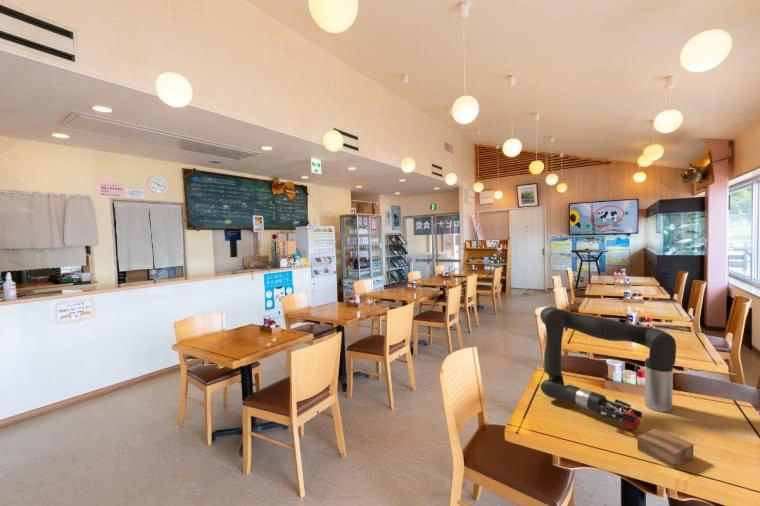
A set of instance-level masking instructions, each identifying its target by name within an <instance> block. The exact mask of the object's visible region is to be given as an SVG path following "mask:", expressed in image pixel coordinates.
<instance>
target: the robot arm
mask: <svg viewBox="0 0 760 506" xmlns="http://www.w3.org/2000/svg"><path fill="white" fill-rule="evenodd" d="M539 316H540V320H541V322H542V323H543V324H544V326H545V331H546V341H545V343H546V344H545V349H544V354H543V369H544V372H545V373H546V374H547V375H548V378H547V379H545V380H544V381H542V382H541V384H540V390H541V392H542V393H543V394H544V395H545V396H546V397H549V398H552V399H554V400H555V399H556V400H560V401H567V402H569V403H572V404H573V405H576V406H579V407H581V408H583V409H586V410H589V411H591V412H593V413H595V414H596V413H597V414H600V416H601V417H604V418H608V419H611V420H615V421H619V420H620V421H621V420H623V419H624V420H627V421H630V422H632V423H635V417H634V416H631V415H628V414H626V413H625V412H627V411H630V410H632V412H633V413H634V414H636V415H637V417H638V418H639V419H640V418H642V417H643V413H642V411H641V410H637V409H634V408H632V405H631V404H629V403H627V402H624V401H622V400H621V399H616V398H615V399H614V401H612V400H608V399H607V397H606V395H603V394H601V393H598V392H595V391H593V390H592V391H591V390H589V389H585V388H582V387H578V386H575V385H572V384H567V385H565V383H564V378H563V373H562V347H563V346H562V344H563V335H564V330H565V329H570V330H573V331H577V332H579V333H581V334H584V335H587V336H589V337H592V338H596V339H600V340H603V341H604V340H605V341H609V342H610V341H611V342H630V343H635V344H638V345H641V346H644V347H647V348H648V349H649V354H648V355H649V356H648V357H647V358H645V361H644V365H645V366H644V405H645V406H646V408H649V409H651V410H653V411H656V412H659V413H660V412H661V413H669V412H672V411H673V393H674V392H673V391H674V389H673V388H674V387H673V380H674V377H673V375H674V373H673V369H674V365H675V364H676V355H677V342H676V340H675V338H674V337H673V336H672V335H671V334H669V333H667V332H666V331H663V330H662V329H661V328H653V327H647V326H638V325H632V324H628V323H625V322H621V321H618V320H614V319H610V318H605V317H601V316H593V315H588V314H582V313H581V314H579V313H574V312H570V311H566V310H563V309H560V308H558V307H556V306H555V307H554V306H548V307H545V308H543V309H542V310H541V311H540V315H539Z"/></svg>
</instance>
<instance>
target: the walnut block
mask: <svg viewBox="0 0 760 506" xmlns="http://www.w3.org/2000/svg"><path fill="white" fill-rule="evenodd" d="M694 446H695V445H694V443H692V442H689V441H687V440H685V439H682V438H680V437H678V436H675V435H673V434H671V433H669V432H667V431H664V430H662V429H660V428H658V427H655V428H654V429H653V428H652V429H651V430H648V431H647V432H644V433H642V434H639V435H637V451H639V452H641V453H642V452H643V454H644V453H645V455H646V454H647V456H648V455H649V456H648V457H650V456H651V457H650V458H652V457H653V458H652V459H654V458H655V459H654V460H656V459H657V460H656V461H658V460H659V461H658V462H660V461H661V462H660V463H662V462H663V463H662V464H664V463H665V464H664V465H666V464H667V465H666V466H668V465H669V466H668V467H670V466H671V467H670V468H672V467H673V468H672V469H674V468H675V469H677V468H679V467H681V466H682V465H681V464H683V465H684V463H685V462H686V463H688V462H690V461H692V460H693V459H694ZM691 459H692V460H691ZM689 460H690V461H689ZM687 461H688V462H687ZM686 463H685V464H686ZM680 465H681V466H680ZM678 466H679V467H678ZM676 467H677V468H676Z"/></svg>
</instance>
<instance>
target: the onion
mask: <svg viewBox="0 0 760 506" xmlns="http://www.w3.org/2000/svg"><path fill="white" fill-rule="evenodd" d="M625 413H626V414H628V415H631V416H634V417H635V423H632V422H630V421H627V420H624V419H623V420H621V419H620V421H621V423H622V424H623V426H625V428H626V429H628V430H629V431H633V430H636V429H638V428H639V427H640V424H641V421H640V418H639V417H637V415H636V414H634V413H633V412H632V410H630V411H627V412H625Z"/></svg>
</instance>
